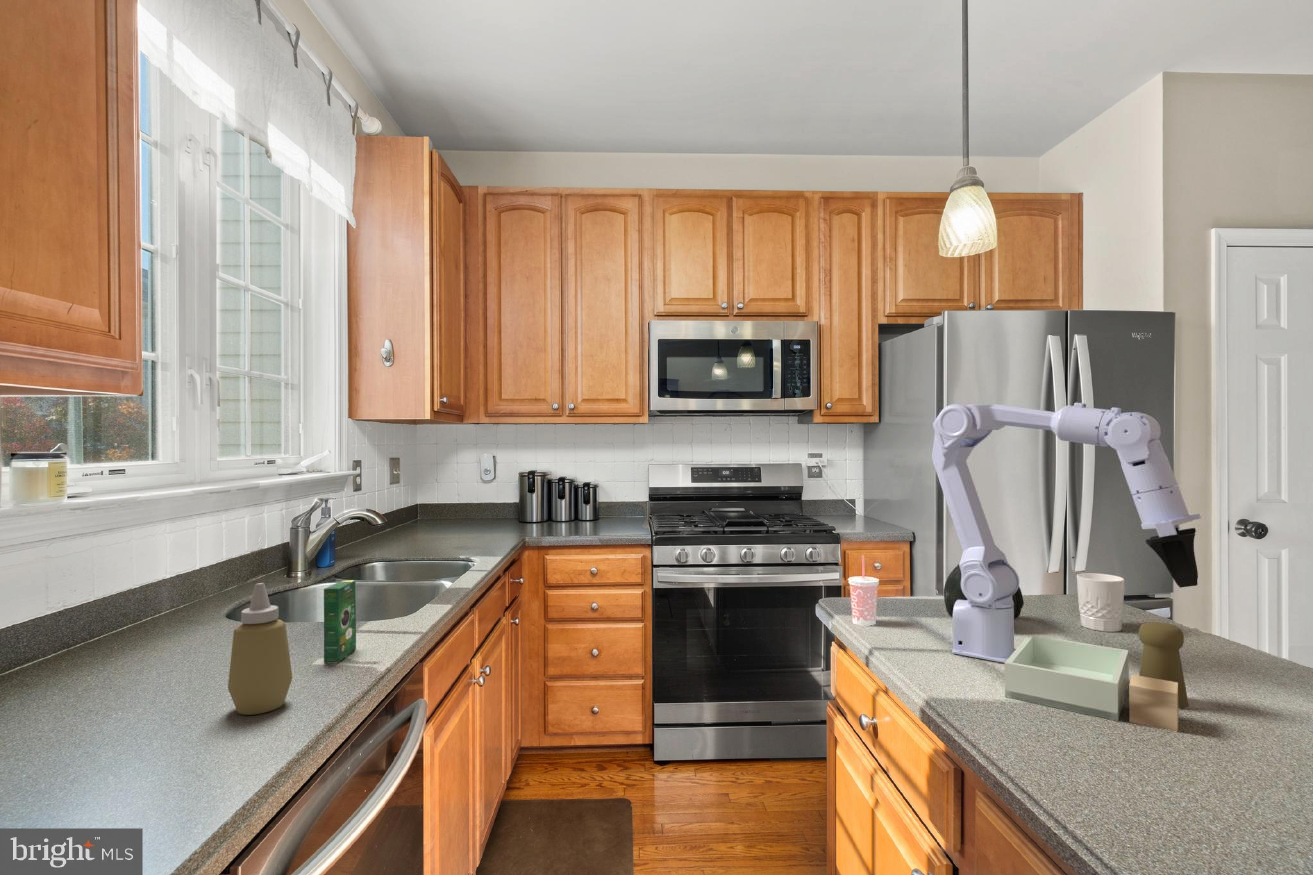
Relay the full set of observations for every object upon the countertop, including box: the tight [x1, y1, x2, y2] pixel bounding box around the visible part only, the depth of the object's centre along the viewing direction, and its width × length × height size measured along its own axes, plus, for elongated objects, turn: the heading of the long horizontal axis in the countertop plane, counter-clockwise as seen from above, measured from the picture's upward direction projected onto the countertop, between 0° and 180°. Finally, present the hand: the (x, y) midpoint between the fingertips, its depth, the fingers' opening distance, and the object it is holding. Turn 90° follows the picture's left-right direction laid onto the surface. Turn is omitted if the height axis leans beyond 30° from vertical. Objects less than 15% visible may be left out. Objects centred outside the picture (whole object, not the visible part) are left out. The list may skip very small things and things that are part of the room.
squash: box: [943, 562, 1025, 621], centre depth 135 cm, size 14×15×15 cm
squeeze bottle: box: [227, 582, 293, 715], centre depth 96 cm, size 8×8×18 cm
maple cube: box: [1128, 674, 1179, 732], centre depth 88 cm, size 5×5×5 cm
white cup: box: [1076, 572, 1125, 633], centre depth 131 cm, size 8×8×10 cm
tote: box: [1004, 634, 1130, 722], centre depth 99 cm, size 14×18×5 cm
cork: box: [1138, 621, 1189, 710], centre depth 95 cm, size 6×6×11 cm
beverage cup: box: [847, 554, 880, 627], centre depth 136 cm, size 6×6×14 cm
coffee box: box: [323, 579, 357, 664], centre depth 119 cm, size 8×3×13 cm, turn 4°
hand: (1189, 583), depth 94 cm, fingers open, 7 cm apart
